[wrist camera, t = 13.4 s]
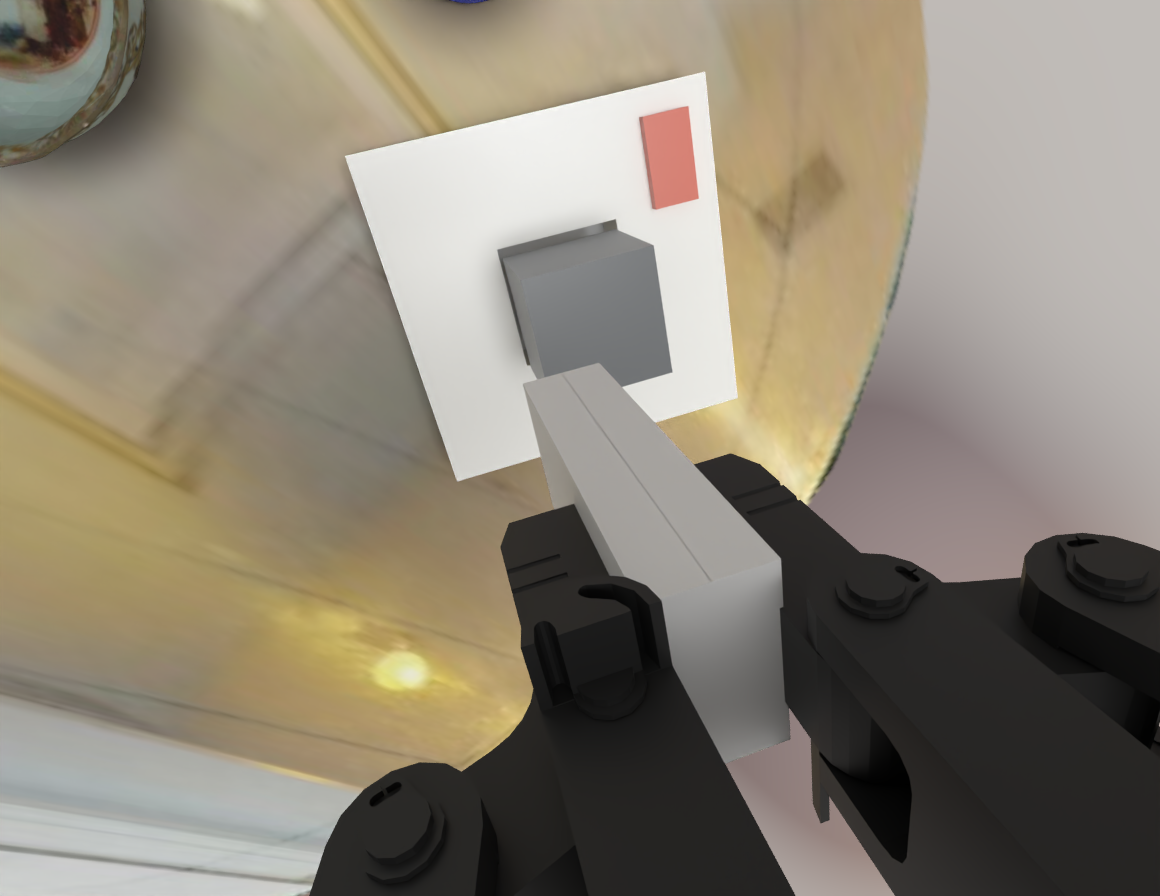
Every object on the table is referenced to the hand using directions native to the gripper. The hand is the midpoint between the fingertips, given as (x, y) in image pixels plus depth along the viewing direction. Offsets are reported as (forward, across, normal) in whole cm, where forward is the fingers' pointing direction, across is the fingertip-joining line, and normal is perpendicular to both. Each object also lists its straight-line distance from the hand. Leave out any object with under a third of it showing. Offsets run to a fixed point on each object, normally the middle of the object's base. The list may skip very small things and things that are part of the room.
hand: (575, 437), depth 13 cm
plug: (+26, +5, -3) cm, 27 cm away
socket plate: (+27, +5, -3) cm, 27 cm away
